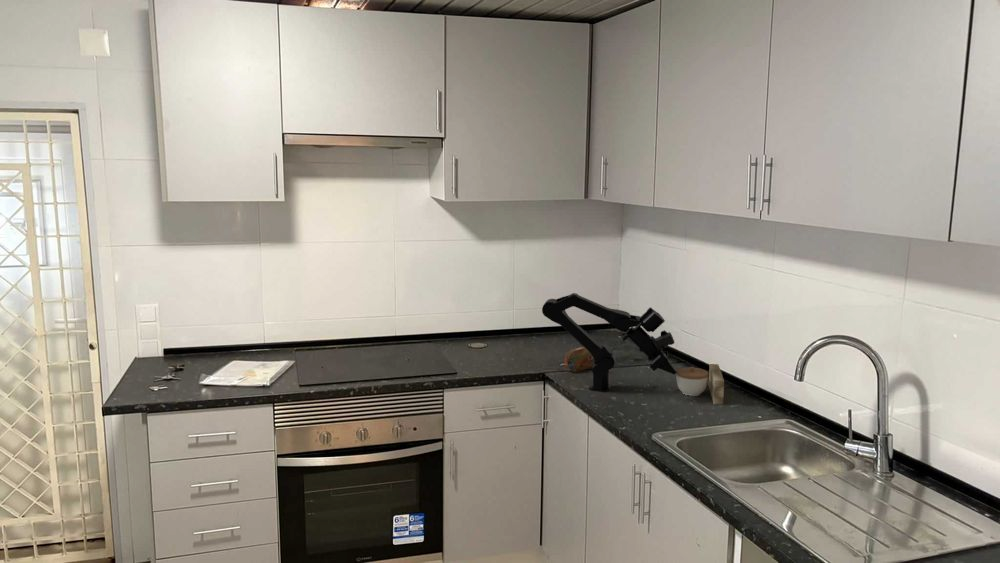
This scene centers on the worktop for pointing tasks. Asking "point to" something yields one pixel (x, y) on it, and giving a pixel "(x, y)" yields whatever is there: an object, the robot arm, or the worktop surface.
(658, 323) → the robot arm
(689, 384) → the lidded jar
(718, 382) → the birch board
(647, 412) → the worktop surface
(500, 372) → the worktop surface
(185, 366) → the worktop surface
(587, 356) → the tin
